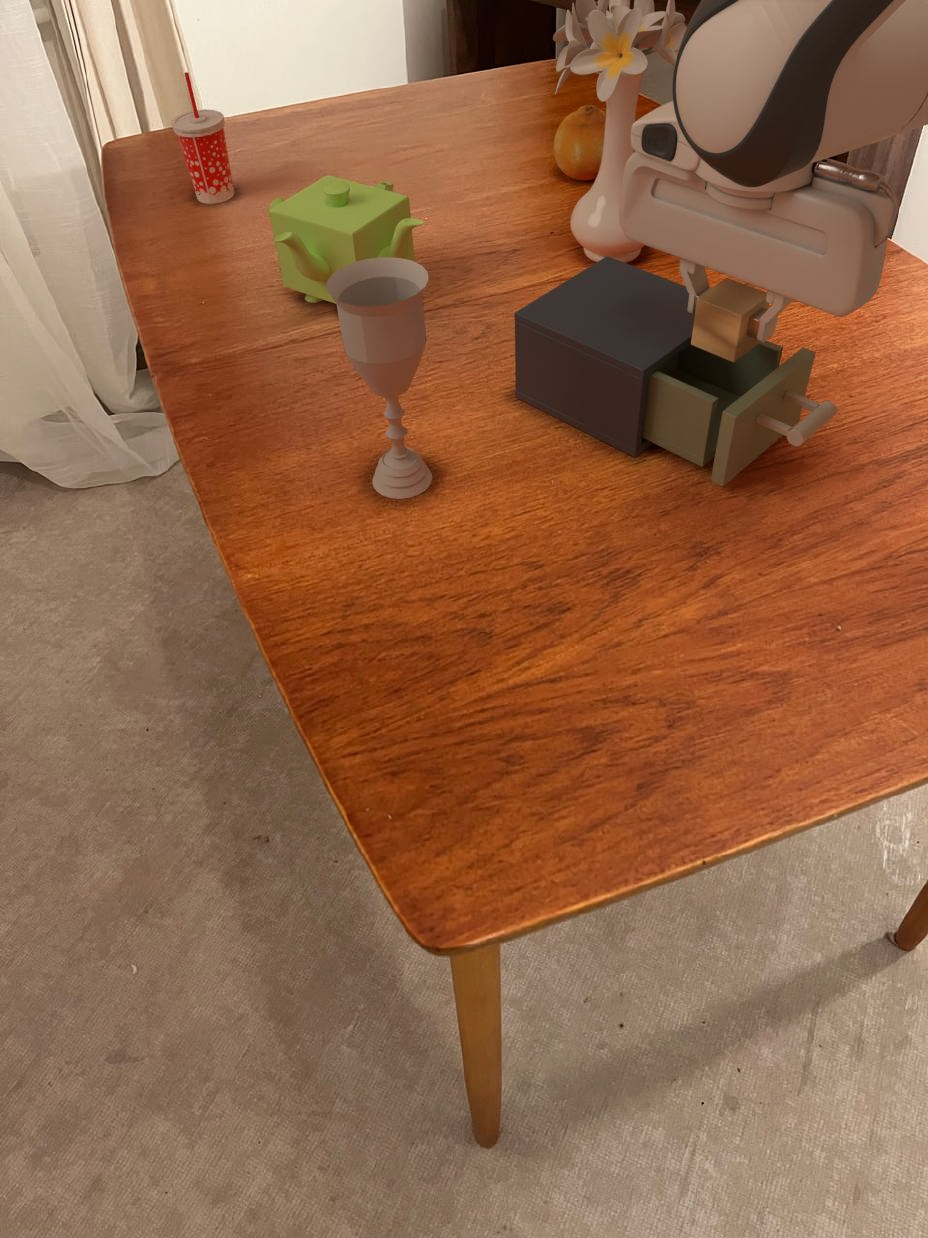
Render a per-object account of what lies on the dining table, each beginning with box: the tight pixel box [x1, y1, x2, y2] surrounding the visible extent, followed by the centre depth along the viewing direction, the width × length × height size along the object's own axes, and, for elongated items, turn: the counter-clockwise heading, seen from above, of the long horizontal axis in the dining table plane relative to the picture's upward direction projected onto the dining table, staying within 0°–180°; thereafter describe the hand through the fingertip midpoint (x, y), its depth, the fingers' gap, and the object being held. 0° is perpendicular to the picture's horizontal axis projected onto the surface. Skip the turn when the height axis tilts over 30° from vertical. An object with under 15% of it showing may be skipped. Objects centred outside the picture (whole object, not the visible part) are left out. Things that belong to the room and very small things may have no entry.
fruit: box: [552, 104, 606, 181], centre depth 118 cm, size 8×8×8 cm
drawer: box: [642, 340, 838, 488], centre depth 81 cm, size 17×11×7 cm
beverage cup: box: [171, 71, 235, 205], centre depth 116 cm, size 6×6×14 cm
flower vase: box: [552, 0, 688, 264], centre depth 98 cm, size 13×18×25 cm
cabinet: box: [514, 256, 695, 458], centre depth 86 cm, size 14×13×9 cm
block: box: [691, 277, 771, 362], centre depth 76 cm, size 4×4×4 cm
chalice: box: [327, 257, 433, 500], centre depth 76 cm, size 7×7×18 cm
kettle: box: [266, 174, 425, 305], centre depth 100 cm, size 15×14×11 cm
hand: (729, 324), depth 76 cm, fingers closed on block, 4 cm apart
